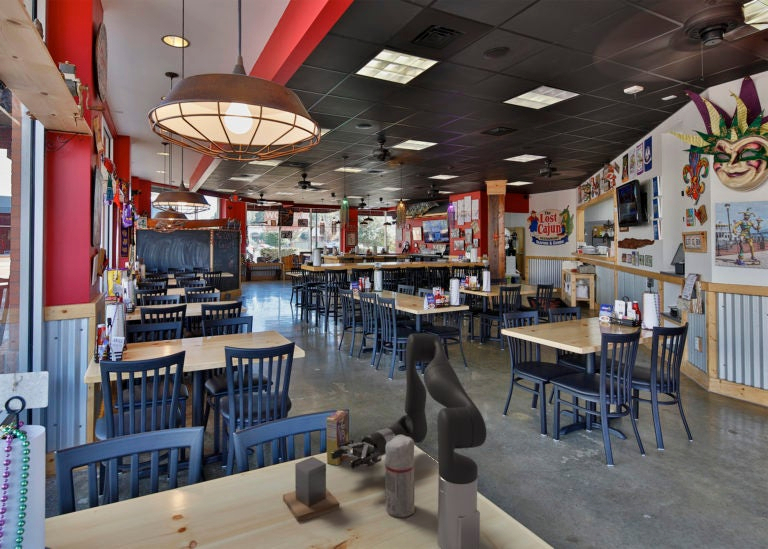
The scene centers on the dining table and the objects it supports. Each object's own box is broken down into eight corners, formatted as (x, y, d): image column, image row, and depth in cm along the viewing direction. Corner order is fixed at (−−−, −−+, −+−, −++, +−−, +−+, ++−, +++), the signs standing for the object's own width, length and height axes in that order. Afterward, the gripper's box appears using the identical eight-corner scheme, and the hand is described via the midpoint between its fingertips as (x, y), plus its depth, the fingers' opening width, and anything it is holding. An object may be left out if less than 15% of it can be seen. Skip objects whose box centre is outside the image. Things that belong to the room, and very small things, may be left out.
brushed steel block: (325, 498, 123) (325, 463, 122) (308, 507, 118) (308, 471, 118) (312, 490, 127) (312, 456, 126) (295, 498, 123) (295, 463, 122)
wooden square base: (339, 508, 121) (339, 479, 120) (297, 522, 114) (297, 491, 114) (322, 488, 131) (322, 461, 131) (283, 499, 125) (282, 471, 124)
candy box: (337, 452, 155) (337, 409, 154) (348, 454, 153) (348, 411, 153) (325, 463, 146) (325, 418, 146) (337, 465, 145) (337, 420, 144)
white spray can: (412, 521, 115) (413, 446, 114) (382, 517, 117) (382, 443, 116) (417, 503, 123) (417, 433, 122) (388, 499, 125) (388, 430, 124)
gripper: (364, 426, 147) (326, 441, 135) (395, 438, 137) (357, 455, 125) (364, 448, 147) (326, 465, 135) (395, 461, 137) (357, 481, 125)
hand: (341, 460), depth 130 cm, fingers open, 8 cm apart
